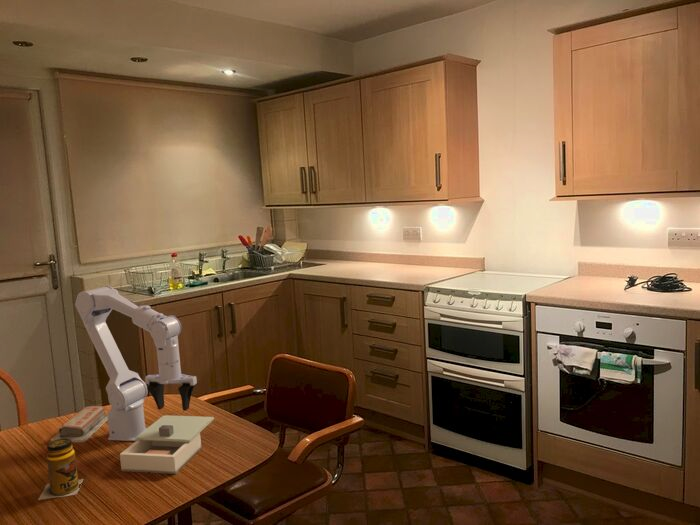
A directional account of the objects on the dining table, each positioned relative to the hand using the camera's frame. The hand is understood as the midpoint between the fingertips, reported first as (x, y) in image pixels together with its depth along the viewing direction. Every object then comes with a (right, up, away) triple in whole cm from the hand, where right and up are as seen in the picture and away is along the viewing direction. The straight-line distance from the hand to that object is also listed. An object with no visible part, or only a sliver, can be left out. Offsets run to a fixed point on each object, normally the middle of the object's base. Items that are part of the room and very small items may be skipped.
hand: (173, 408), depth 159 cm
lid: (+1, -5, -1) cm, 5 cm away
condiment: (-20, -14, -21) cm, 33 cm away
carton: (0, -11, -8) cm, 14 cm away
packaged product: (-32, -10, +14) cm, 36 cm away
